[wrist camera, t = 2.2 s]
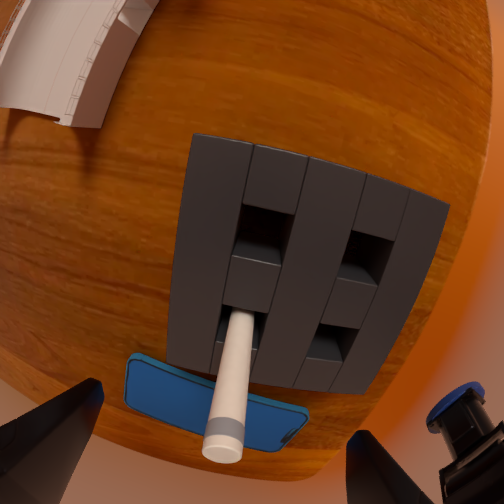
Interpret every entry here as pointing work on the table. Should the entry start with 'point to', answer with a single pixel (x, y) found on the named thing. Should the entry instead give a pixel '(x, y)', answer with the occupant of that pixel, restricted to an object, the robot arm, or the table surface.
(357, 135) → the table surface
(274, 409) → the smartphone
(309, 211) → the pen stand
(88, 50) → the skate ramp
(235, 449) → the stylus
